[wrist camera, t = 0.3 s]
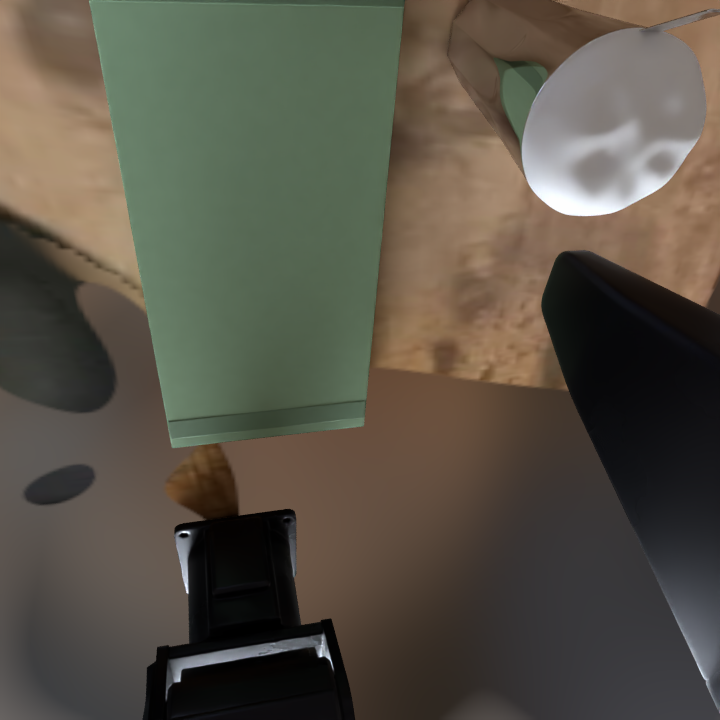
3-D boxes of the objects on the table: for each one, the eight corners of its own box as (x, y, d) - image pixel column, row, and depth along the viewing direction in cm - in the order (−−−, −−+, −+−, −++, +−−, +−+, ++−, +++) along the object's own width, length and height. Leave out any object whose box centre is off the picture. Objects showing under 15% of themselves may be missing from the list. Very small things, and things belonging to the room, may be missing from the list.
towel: (359, 411, 32) (364, 426, 31) (172, 432, 30) (172, 449, 29) (401, -68, 19) (411, -62, 18) (79, -83, 17) (74, -77, 16)
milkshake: (582, -63, 20) (817, 16, 13) (535, 110, 24) (700, 251, 16) (446, -76, 19) (615, 2, 12) (417, 106, 23) (535, 255, 15)
